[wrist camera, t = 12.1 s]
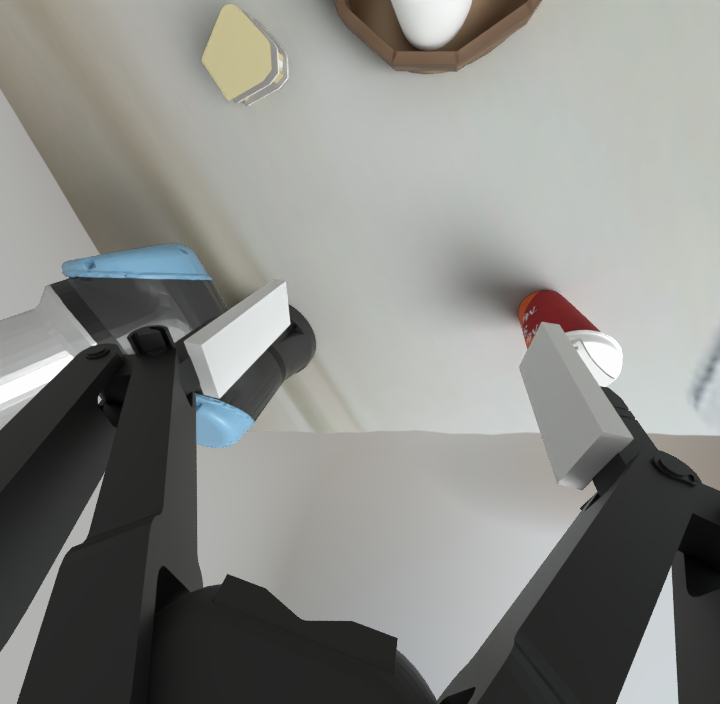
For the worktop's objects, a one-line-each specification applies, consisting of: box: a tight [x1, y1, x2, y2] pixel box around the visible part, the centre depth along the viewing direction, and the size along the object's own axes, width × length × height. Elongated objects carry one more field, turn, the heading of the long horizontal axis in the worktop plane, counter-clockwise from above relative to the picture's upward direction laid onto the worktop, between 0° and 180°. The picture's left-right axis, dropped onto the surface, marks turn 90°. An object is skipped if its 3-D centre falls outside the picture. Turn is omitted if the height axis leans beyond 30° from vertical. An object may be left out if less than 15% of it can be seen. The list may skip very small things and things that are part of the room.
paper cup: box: [518, 290, 622, 387], centre depth 33 cm, size 8×8×14 cm
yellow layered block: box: [202, 4, 288, 106], centre depth 30 cm, size 10×9×6 cm
